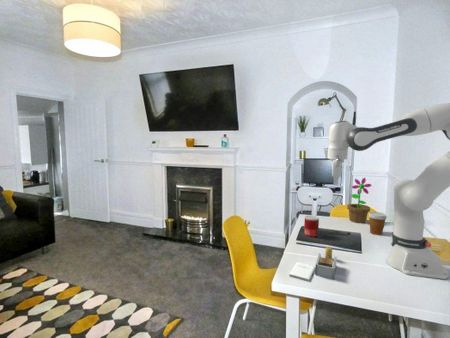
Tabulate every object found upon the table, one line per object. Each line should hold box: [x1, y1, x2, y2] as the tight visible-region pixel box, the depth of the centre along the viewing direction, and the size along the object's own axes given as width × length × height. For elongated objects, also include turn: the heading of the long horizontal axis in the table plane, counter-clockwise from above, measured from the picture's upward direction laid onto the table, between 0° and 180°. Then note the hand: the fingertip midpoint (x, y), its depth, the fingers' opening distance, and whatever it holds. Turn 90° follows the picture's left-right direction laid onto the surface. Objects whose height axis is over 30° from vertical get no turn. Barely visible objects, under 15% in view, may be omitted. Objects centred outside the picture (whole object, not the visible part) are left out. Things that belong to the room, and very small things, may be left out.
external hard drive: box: [289, 261, 316, 282], centre depth 114 cm, size 2×8×12 cm
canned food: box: [303, 214, 320, 238], centre depth 155 cm, size 8×8×11 cm
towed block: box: [319, 246, 334, 268], centre depth 120 cm, size 5×18×5 cm, turn 154°
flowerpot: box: [346, 177, 372, 224], centre depth 179 cm, size 14×14×30 cm
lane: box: [314, 253, 338, 280], centre depth 115 cm, size 8×12×4 cm, turn 154°
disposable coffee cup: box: [368, 211, 388, 236], centre depth 158 cm, size 10×10×12 cm
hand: (335, 183), depth 128 cm, fingers open, 8 cm apart
